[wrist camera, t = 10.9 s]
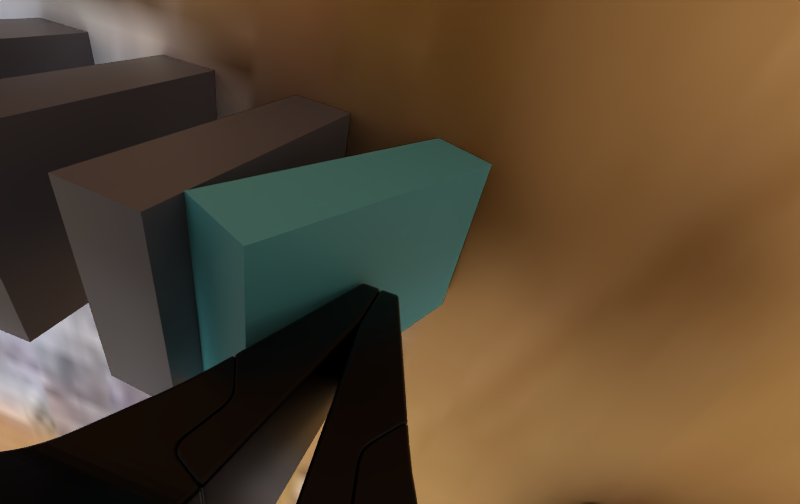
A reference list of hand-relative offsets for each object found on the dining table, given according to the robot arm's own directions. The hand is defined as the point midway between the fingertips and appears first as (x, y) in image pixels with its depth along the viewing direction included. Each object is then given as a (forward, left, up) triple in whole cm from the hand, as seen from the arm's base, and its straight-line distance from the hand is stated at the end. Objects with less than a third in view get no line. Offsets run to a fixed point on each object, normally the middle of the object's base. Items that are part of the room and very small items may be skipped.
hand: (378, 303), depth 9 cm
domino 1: (-1, 0, -4) cm, 4 cm away
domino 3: (+8, 0, -5) cm, 9 cm away
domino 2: (+4, 0, -4) cm, 6 cm away
